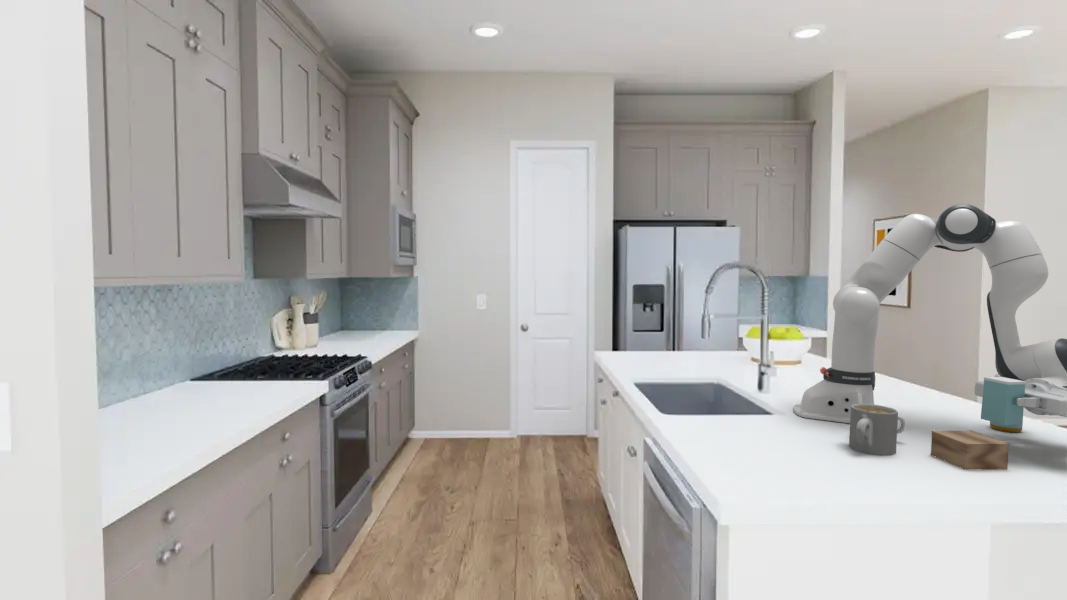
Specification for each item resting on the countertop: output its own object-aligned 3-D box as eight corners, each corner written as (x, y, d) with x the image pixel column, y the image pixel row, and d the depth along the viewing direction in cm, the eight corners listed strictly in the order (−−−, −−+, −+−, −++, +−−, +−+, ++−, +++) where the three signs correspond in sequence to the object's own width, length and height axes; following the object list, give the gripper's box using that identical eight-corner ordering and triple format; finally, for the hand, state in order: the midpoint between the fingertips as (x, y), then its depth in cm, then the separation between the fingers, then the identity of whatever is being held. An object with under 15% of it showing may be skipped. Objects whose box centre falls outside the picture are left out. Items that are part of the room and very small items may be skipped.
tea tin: (1004, 425, 132) (1008, 382, 132) (980, 418, 138) (983, 377, 137) (1022, 424, 134) (1026, 381, 133) (997, 417, 139) (1001, 376, 138)
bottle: (1010, 426, 164) (1013, 374, 163) (1028, 433, 157) (1031, 379, 156) (983, 425, 165) (986, 373, 164) (1000, 432, 158) (1004, 378, 157)
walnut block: (965, 470, 128) (966, 444, 127) (930, 455, 138) (932, 431, 137) (1007, 470, 128) (1009, 443, 128) (970, 455, 138) (971, 430, 138)
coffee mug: (864, 440, 148) (866, 402, 148) (904, 451, 140) (906, 411, 139) (831, 447, 142) (833, 407, 141) (871, 459, 133) (873, 417, 133)
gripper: (998, 374, 149) (958, 375, 145) (1094, 393, 129) (1050, 394, 125) (996, 398, 149) (955, 400, 145) (1091, 420, 129) (1047, 423, 126)
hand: (1000, 398), depth 135 cm, fingers closed on tea tin, 5 cm apart
